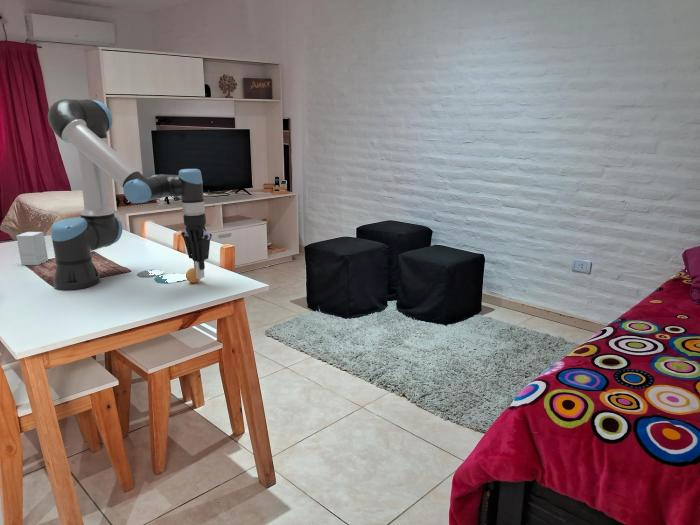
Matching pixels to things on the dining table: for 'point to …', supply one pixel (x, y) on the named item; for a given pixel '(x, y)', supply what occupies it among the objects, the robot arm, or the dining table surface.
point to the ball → (192, 275)
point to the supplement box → (32, 248)
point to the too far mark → (145, 274)
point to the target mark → (160, 279)
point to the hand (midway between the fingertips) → (200, 277)
